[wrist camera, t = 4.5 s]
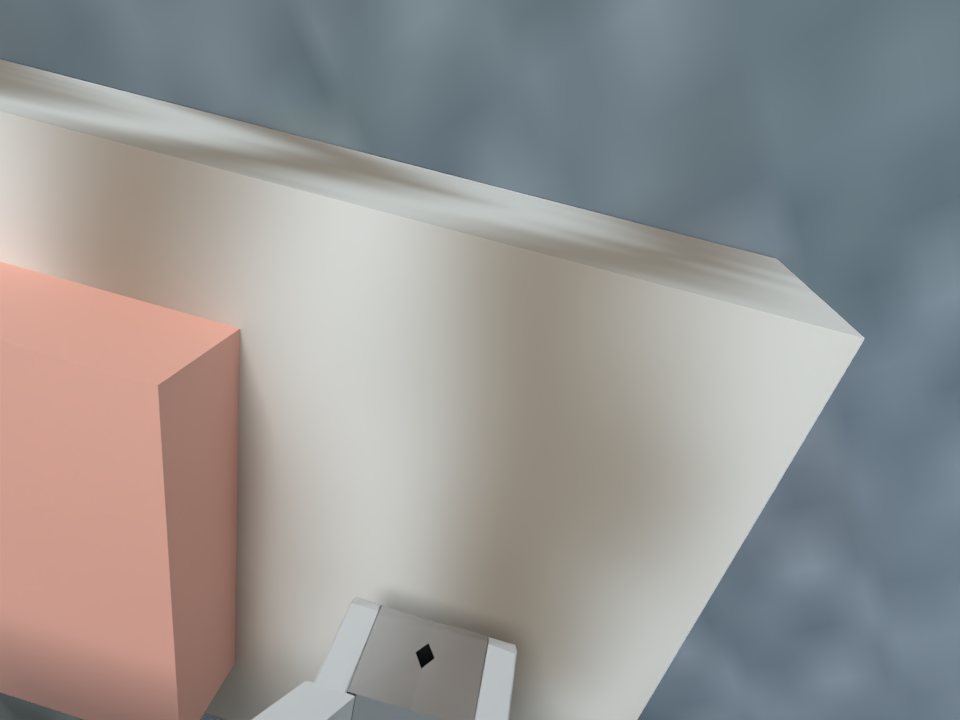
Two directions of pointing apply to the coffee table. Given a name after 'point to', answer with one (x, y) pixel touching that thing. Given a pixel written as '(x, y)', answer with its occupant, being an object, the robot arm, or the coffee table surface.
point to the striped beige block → (438, 385)
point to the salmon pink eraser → (115, 501)
